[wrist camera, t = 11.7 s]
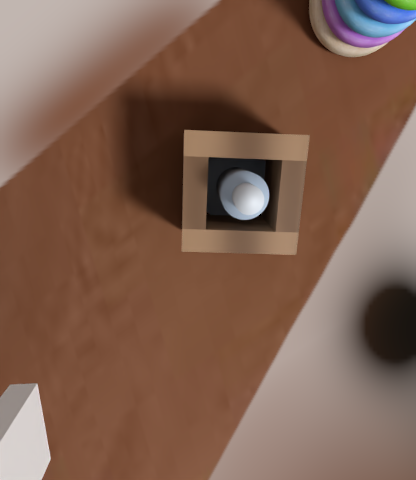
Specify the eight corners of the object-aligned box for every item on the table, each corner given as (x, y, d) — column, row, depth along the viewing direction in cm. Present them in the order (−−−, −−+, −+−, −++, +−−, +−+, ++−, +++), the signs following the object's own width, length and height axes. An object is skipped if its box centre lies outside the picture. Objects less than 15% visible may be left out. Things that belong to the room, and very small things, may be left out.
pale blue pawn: (196, 221, 32) (196, 249, 23) (198, 145, 30) (199, 144, 22) (269, 223, 32) (295, 251, 24) (275, 148, 31) (306, 148, 22)
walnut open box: (184, 232, 32) (181, 251, 26) (186, 133, 30) (184, 129, 24) (278, 235, 32) (296, 254, 27) (287, 137, 30) (309, 135, 24)
